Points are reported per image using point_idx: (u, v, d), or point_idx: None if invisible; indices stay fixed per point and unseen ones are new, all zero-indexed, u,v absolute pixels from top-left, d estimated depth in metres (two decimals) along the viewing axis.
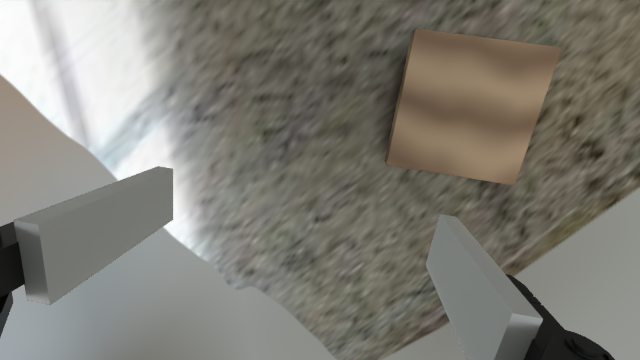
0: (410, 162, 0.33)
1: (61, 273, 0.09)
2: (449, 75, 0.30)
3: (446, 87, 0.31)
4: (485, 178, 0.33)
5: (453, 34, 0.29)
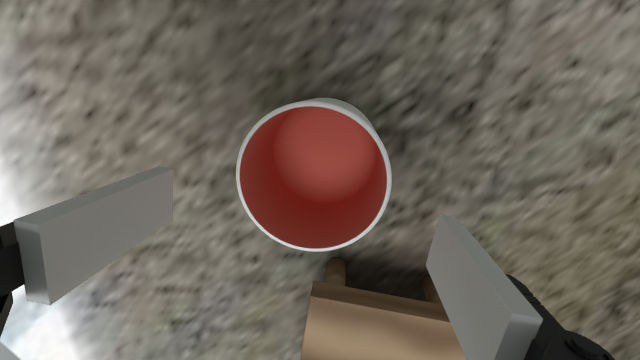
0: None
1: (61, 273, 0.09)
2: (355, 344, 0.25)
3: (353, 355, 0.25)
4: None
5: (356, 305, 0.23)
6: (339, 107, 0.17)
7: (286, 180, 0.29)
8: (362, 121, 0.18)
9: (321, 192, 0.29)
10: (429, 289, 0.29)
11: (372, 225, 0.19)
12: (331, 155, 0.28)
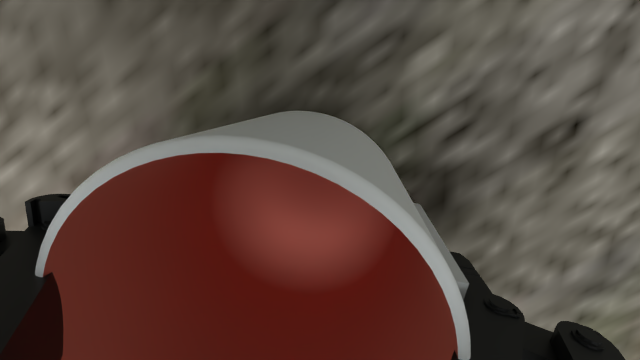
0: None
1: None
2: None
3: None
4: None
5: None
6: (311, 157, 0.05)
7: (238, 252, 0.17)
8: (386, 202, 0.05)
9: (300, 271, 0.17)
10: None
11: None
12: (316, 210, 0.16)
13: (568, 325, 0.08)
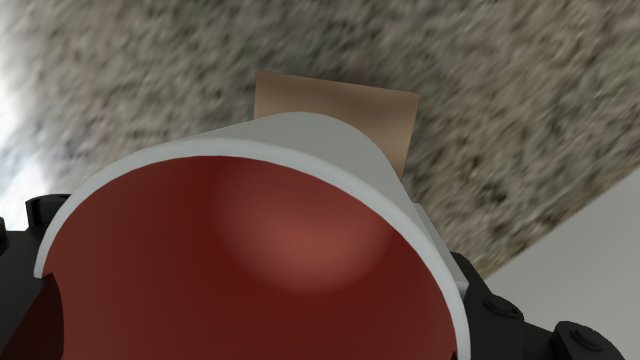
0: None
1: None
2: None
3: None
4: None
5: (299, 77, 0.25)
6: (310, 160, 0.05)
7: (238, 253, 0.16)
8: (386, 205, 0.05)
9: (300, 272, 0.17)
10: None
11: None
12: (315, 211, 0.16)
13: (568, 325, 0.08)
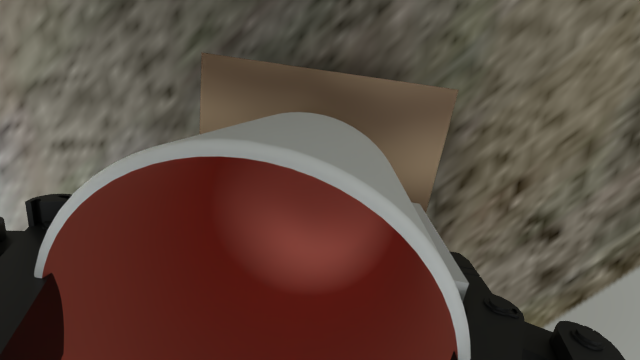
0: None
1: None
2: None
3: None
4: None
5: (267, 64, 0.16)
6: (310, 160, 0.05)
7: (238, 253, 0.16)
8: (386, 206, 0.05)
9: (300, 272, 0.17)
10: None
11: None
12: (316, 212, 0.16)
13: (568, 325, 0.08)
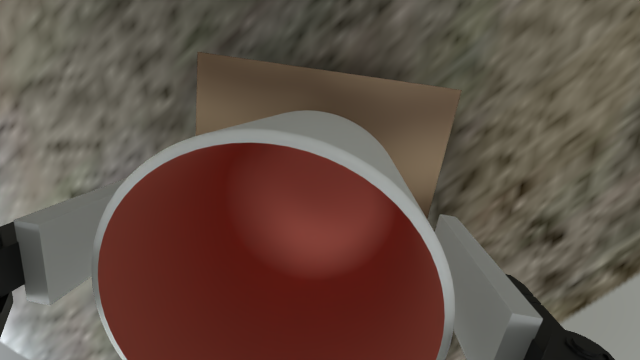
0: None
1: (61, 273, 0.09)
2: None
3: None
4: None
5: (264, 63, 0.16)
6: (323, 145, 0.07)
7: (250, 241, 0.18)
8: (384, 181, 0.07)
9: (307, 259, 0.18)
10: None
11: None
12: (322, 202, 0.17)
13: None
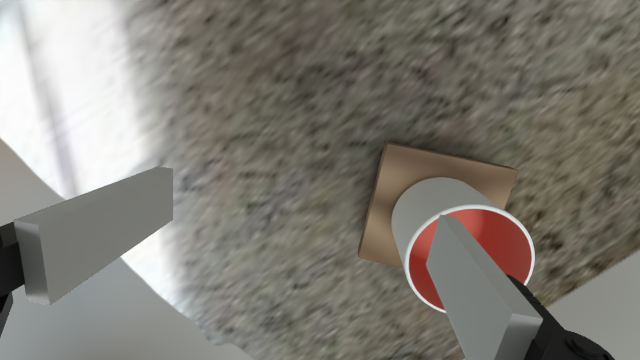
0: (380, 257, 0.36)
1: (61, 273, 0.09)
2: None
3: None
4: None
5: (421, 151, 0.32)
6: (501, 210, 0.23)
7: None
8: (518, 222, 0.23)
9: (428, 250, 0.34)
10: None
11: None
12: None
13: None
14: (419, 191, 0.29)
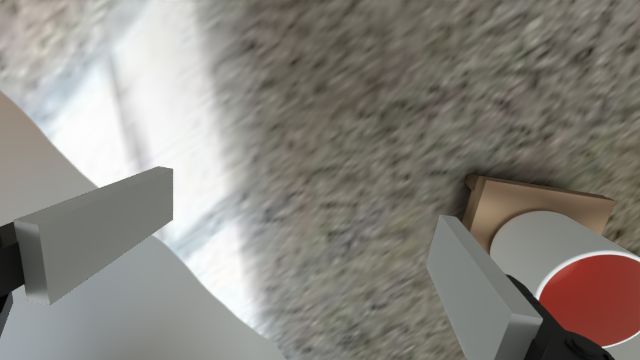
0: None
1: (61, 273, 0.09)
2: None
3: None
4: None
5: (519, 186, 0.33)
6: (632, 255, 0.24)
7: None
8: None
9: None
10: None
11: (638, 333, 0.26)
12: None
13: None
14: (527, 227, 0.31)
